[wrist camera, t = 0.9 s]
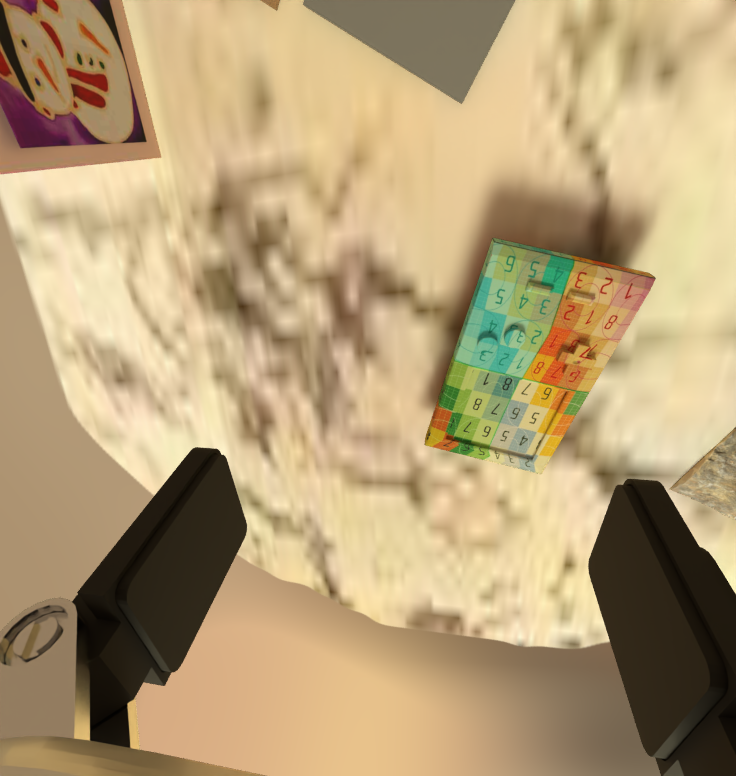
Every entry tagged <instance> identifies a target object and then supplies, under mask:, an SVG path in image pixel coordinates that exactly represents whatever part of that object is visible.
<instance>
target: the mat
mask: <svg viewBox="0 0 736 776" xmlns="http://www.w3.org/2000/svg"><path fill="white" fill-rule="evenodd" d="M514 2H515V0H304V3H303V5H304V6H306V7H307V8H308V9H310V10H312V11H313V12H315V13H316V14H318V15H320V16H321V17H323V18H324V19H326V20H328V21H329V22H331V23H332V24H334V25H336V26H337V27H339V28H340V29H342V30H344V31H345V32H347V33H348V34H350V35H352V36H353V37H355V38H356V39H358V40H360V41H361V42H363V43H364V44H366V45H368V46H369V47H371V48H373V49H374V50H376V51H377V52H379V53H381V54H382V55H384V56H385V57H387V58H389V59H390V60H392V61H393V62H395V63H397V64H398V65H400V66H401V67H403V68H405V69H406V70H408V71H409V72H411V73H413V74H414V75H416V76H417V77H419V78H421V79H422V80H424V81H425V82H427V83H429V84H430V85H432V86H433V87H435V88H437V89H438V90H440V91H442V92H443V93H445V94H446V95H448V96H450V97H451V98H453V99H454V100H456V101H458V102H459V103H461V104H462V102H463V101H464V99H465V97H466V95H467V93H468V91H469V89H470V87H471V85H472V83H473V81H474V79H475V77H476V75H477V73H478V71H479V70H480V68H481V66H482V64H483V62H484V60H485V58H486V56H487V54H488V52H489V50H490V48H491V46H492V44H493V42H494V40H495V39H496V37H497V35H498V33H499V31H500V29H501V27H502V25H503V23H504V21H505V19H506V17H507V15H508V13H509V11H510V9H511V8H512V6H513V4H514Z"/></svg>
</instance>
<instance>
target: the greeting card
mask: <svg viewBox="0 0 736 776" xmlns="http://www.w3.org/2000/svg"><path fill="white" fill-rule="evenodd" d="M152 158H161V154H160V150H159V146H158V142H157V138H156V134H155V130H154V126H153V122H152V118H151V114H150V110H149V106H148V102H147V98H146V94H145V90H144V87H143V83H142V79H141V75H140V71H139V67H138V63H137V59H136V55H135V51H134V47H133V43H132V39H131V35H130V31H129V27H128V23H127V19H126V15H125V11H124V7H123V3H122V0H0V174H8V173H17V172H27V171H37V170H46V169H56V168H65V167H75V166H85V165H94V164H104V163H113V162H123V161H133V160H142V159H152Z"/></svg>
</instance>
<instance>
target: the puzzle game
mask: <svg viewBox="0 0 736 776" xmlns="http://www.w3.org/2000/svg"><path fill="white" fill-rule="evenodd" d="M655 279H656V278H655V277H654V276H652V275H651V274H650V273H647V272H642V271H638V270H634V269H629V268H625V267H620V266H616V265H612V264H607V263H603V262H598V261H594V260H589V259H585V258H581V257H576V256H572V255H567V254H563V253H559V252H554V251H550V250H545V249H541V248H536V247H532V246H528V245H523V244H519V243H514V242H510V241H505V240H501V239H497V238H492V241H491V244H490V247H489V250H488V253H487V256H486V259H485V262H484V265H483V268H482V271H481V274H480V277H479V280H478V283H477V286H476V289H475V292H474V295H473V298H472V301H471V304H470V307H469V310H468V312H467V315H466V318H465V321H464V324H463V327H462V330H461V333H460V336H459V339H458V342H457V345H456V348H455V351H454V354H453V357H452V360H451V363H450V366H449V369H448V372H447V375H446V378H445V381H444V384H443V387H442V389H441V392H440V395H439V398H438V401H437V404H436V407H435V410H434V413H433V416H432V419H431V422H430V425H429V428H428V431H427V434H426V438H425V445H426V446H430V447H434V448H438V449H442V450H446V451H450V452H454V453H458V454H462V455H466V456H470V457H474V458H478V459H482V460H486V461H490V462H494V463H498V464H502V465H506V466H510V467H514V468H518V469H523V470H527V471H531V472H535V473H539V474H542V472H543V470H544V469H545V467H546V465H547V463H548V462H549V460H550V458H551V457H552V455H553V453H554V451H555V450H556V448H557V446H558V445H559V443H560V441H561V439H562V438H563V436H564V434H565V433H566V431H567V429H568V428H569V426H570V424H571V422H572V421H573V419H574V417H575V416H576V414H577V412H578V410H579V409H580V407H581V405H582V404H583V402H584V400H585V399H586V397H587V395H588V394H589V392H590V390H591V389H592V387H593V385H594V384H595V382H596V380H597V379H598V377H599V375H600V374H601V372H602V370H603V368H604V367H605V365H606V363H607V362H608V360H609V358H610V357H611V355H612V353H613V352H614V350H615V348H616V347H617V345H618V343H619V342H620V340H621V338H622V337H623V335H624V333H625V332H626V330H627V328H628V326H629V325H630V323H631V321H632V320H633V318H634V316H635V315H636V313H637V311H638V310H639V308H640V306H641V305H642V303H643V301H644V300H645V298H646V296H647V295H648V293H649V291H650V289H651V287H652V285H653V283H654V281H655Z"/></svg>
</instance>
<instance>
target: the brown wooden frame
mask: <svg viewBox="0 0 736 776" xmlns="http://www.w3.org/2000/svg"><path fill="white" fill-rule="evenodd" d="M261 1H262V2H264V3H266V4H267V5H269V6H271V7H272V8H274V9H275V10H277V9H278V5H279V1H280V0H261Z"/></svg>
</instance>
